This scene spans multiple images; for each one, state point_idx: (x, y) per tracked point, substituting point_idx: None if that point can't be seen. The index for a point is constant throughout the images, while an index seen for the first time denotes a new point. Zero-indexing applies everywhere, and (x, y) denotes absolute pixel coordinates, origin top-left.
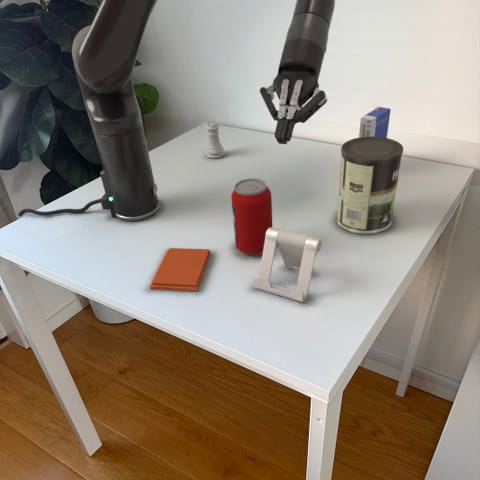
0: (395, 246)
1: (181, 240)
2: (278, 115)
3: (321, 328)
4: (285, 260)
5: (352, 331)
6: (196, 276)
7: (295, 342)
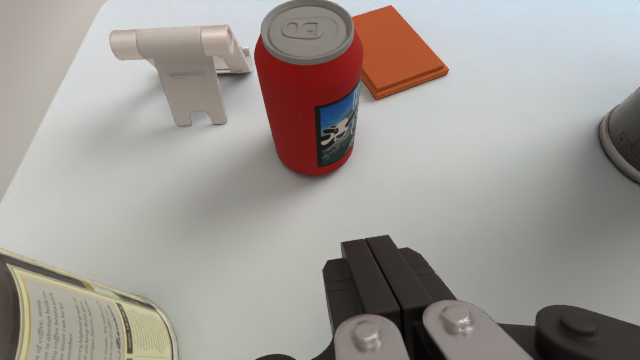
0: None
1: (460, 108)
2: (482, 315)
3: None
4: (216, 96)
5: (90, 57)
6: None
7: (159, 21)
